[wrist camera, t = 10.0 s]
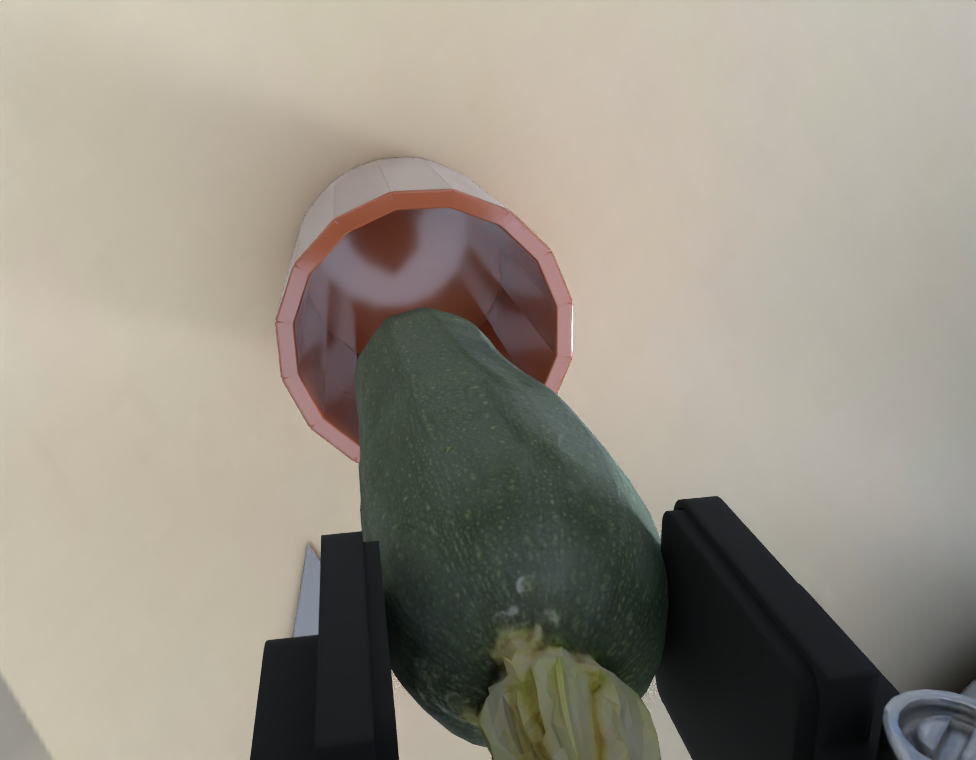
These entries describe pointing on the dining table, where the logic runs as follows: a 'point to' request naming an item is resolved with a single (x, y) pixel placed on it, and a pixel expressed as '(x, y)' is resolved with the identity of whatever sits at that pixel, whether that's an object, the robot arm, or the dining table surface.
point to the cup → (411, 282)
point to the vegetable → (505, 550)
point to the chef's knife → (308, 597)
